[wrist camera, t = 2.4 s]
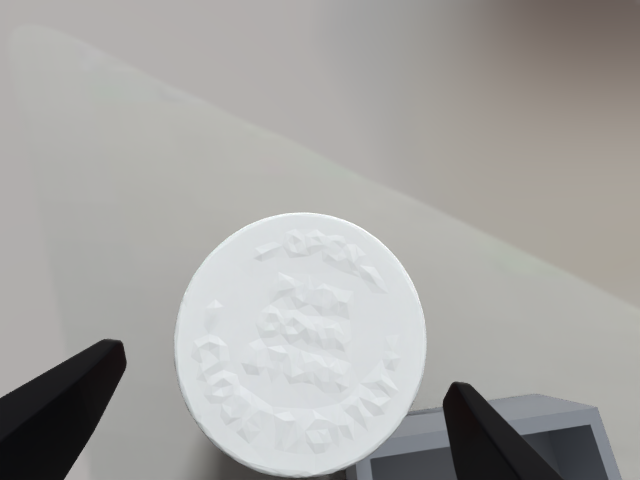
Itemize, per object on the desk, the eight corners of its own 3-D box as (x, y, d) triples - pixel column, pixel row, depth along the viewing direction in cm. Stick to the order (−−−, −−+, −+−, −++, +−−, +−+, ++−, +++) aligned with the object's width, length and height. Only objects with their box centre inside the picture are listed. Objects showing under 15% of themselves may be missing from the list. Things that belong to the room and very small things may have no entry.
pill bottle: (311, 423, 15) (356, 617, 5) (216, 353, 16) (64, 381, 5) (371, 320, 17) (501, 290, 7) (284, 261, 18) (272, 145, 7)
